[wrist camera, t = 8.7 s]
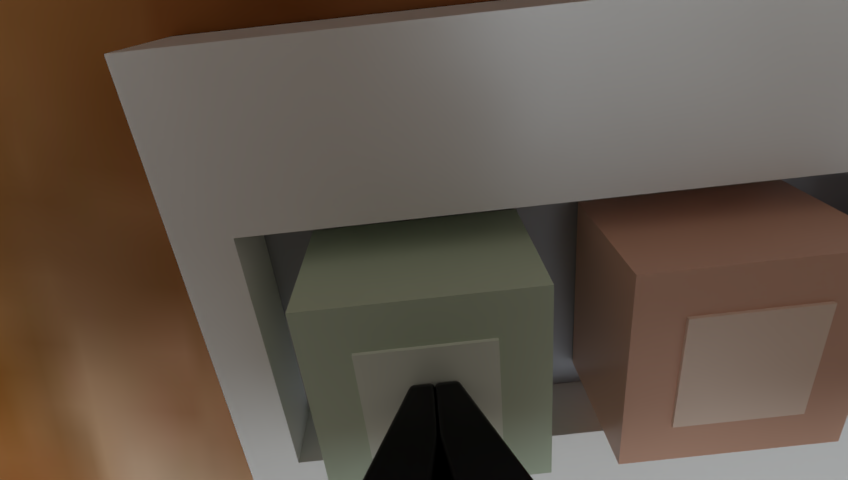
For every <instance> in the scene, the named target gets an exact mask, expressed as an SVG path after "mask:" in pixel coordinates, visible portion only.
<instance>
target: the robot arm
mask: <svg viewBox="0 0 848 480" xmlns="http://www.w3.org/2000/svg"><path fill="white" fill-rule="evenodd" d="M363 480H533V479H532V477H531V476H530V475H529V473H528V472H527V471H526V469H525V468H524V467H523V465H522V464H521V463H520V461H519V460H518V459H517V457H516V456H515V455H514V453H513V452H512V451H511V449H510V448H509V447H508V445H507V444H506V443H505V441H504V440H503V439H502V437H501V436H500V435H499V434H498V432H497V431H496V430H495V428H494V427H493V426H492V424H491V423H490V422H489V420H488V419H487V418H486V416H485V415H484V414H483V412H482V411H481V410H480V408H479V407H478V406H477V404H476V403H475V402H474V400H473V399H472V398H471V396H470V395H469V394H468V392H467V391H466V390H465V388H464V387H463V386H462V384H461V383H460V382H458V381H447V382H439V383H437V384H436V385H435V386H434V385H433V384H431V383H428V384H419V385H412V386H411V387H410V388H409V390H408V391H407V393H406V395H405V397H404V399H403V401H402V403H401V405H400V407H399V409H398V411H397V413H396V415H395V417H394V419H393V421H392V423H391V425H390V427H389V429H388V431H387V433H386V435H385V437H384V439H383V441H382V443H381V445H380V446H379V448H378V450H377V452H376V454H375V456H374V458H373V460H372V462H371V464H370V466H369V468H368V470H367V472H366V474H365V476H364V478H363Z"/></svg>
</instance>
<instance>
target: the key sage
mask: <svg viewBox="0 0 848 480" xmlns="http://www.w3.org/2000/svg"><path fill="white" fill-rule="evenodd" d="M285 315H286V319H287V322H288V326H289V330H290V334H291V338H292V342H293V345H294V349H295V353H296V357H297V361H298V365H299V368H300V372H301V376H302V380H303V384H304V388H305V391H306V395H307V399H308V403H309V407H310V411H311V415H312V418H313V422H314V426H315V430H316V434H317V438H318V441H319V445H320V449H321V453H322V457H323V461H324V464H325V468H326V472H327V476H328V480H363V478H364V476H365V474H366V472H367V470H368V468H369V466H370V464H371V462H372V460H373V458H374V456H375V454H376V452H377V450H378V448H379V446H380V445H381V443H382V441H383V439H384V437H385V435H386V433H387V431H388V429H389V427H390V425H391V423H392V421H393V419H394V417H395V415H396V413H397V411H398V409H399V407H400V405H401V403H402V401H403V399H404V397H405V395H406V393H407V391H408V390H409V388H410V387H411V386H412V385H419V384H428V383H431V384H433V385H434V386H435V385H436V384H437V383H439V382H447V381H458V382H460V383H461V384H462V386H463V387H464V388H465V390H466V391H467V392H468V394H469V395H470V396H471V398H472V399H473V400H474V402H475V403H476V404H477V406H478V407H479V408H480V410H481V411H482V412H483V414H484V415H485V416H486V418H487V419H488V420H489V422H490V423H491V424H492V426H493V427H494V428H495V430H496V431H497V432H498V434H499V435H500V436H501V437H502V439H503V440H504V441H505V443H506V444H507V445H508V447H509V448H510V449H511V451H512V452H513V453H514V455H515V456H516V457H517V459H518V460H519V461H520V463H521V464H522V465H523V467H524V468H525V469H526V471H527V472H528V473H529V475H532V474H542V473H551V472H552V399H553V326H554V284H553V282H552V280H551V278H550V276H549V274H548V272H547V270H546V268H545V266H544V264H543V262H542V260H541V258H540V256H539V254H538V252H537V250H536V248H535V246H534V244H533V242H532V240H531V238H530V236H529V234H528V232H527V230H526V228H525V226H524V224H523V222H522V220H521V218H520V216H519V214H518V212H517V210H516V209H511V210H501V211H492V212H483V213H474V214H464V215H455V216H446V217H437V218H427V219H418V220H409V221H399V222H390V223H381V224H372V225H362V226H353V227H344V228H335V229H325V230H316V231H313V233H312V236H311V239H310V242H309V244H308V247H307V250H306V253H305V256H304V259H303V262H302V265H301V268H300V271H299V274H298V277H297V280H296V283H295V286H294V289H293V292H292V295H291V298H290V301H289V304H288V307H287V310H286V313H285Z"/></svg>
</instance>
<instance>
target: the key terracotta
mask: <svg viewBox="0 0 848 480" xmlns="http://www.w3.org/2000/svg"><path fill="white" fill-rule="evenodd" d="M572 362H573V364H574V367H575V369H576V371H577V373H578V375H579V378H580V380H581V382H582V384H583V387H584V389H585V391H586V393H587V395H588V398H589V400H590V402H591V404H592V406H593V409H594V411H595V413H596V415H597V418H598V420H599V422H600V424H601V426H602V429H603V431H604V433H605V435H606V437H607V440H608V442H609V444H610V446H611V448H612V451H613V453H614V455H615V457H616V460H617V462H618V464H627V463H636V462H646V461H655V460H665V459H674V458H684V457H693V456H703V455H712V454H722V453H731V452H741V451H750V450H760V449H769V448H779V447H788V446H798V445H807V444H817V443H826V442H836V441H839V438H840V435H841V432H842V429H843V427H844V424H845V421H846V418H847V415H848V215H847V214H845V213H843V212H841V211H839V210H837V209H835V208H833V207H831V206H830V205H828V204H826V203H824V202H822V201H820V200H818V199H816V198H814V197H813V196H811V195H809V194H807V193H805V192H803V191H801V190H799V189H797V188H796V187H794V186H792V185H790V184H788V183H786V182H784V181H782V180H776V181H766V182H757V183H748V184H739V185H729V186H720V187H711V188H702V189H692V190H683V191H674V192H664V193H655V194H646V195H637V196H627V197H618V198H609V199H600V200H590V201H581V202H578V215H577V244H576V273H575V302H574V331H573V360H572Z"/></svg>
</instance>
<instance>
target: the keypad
mask: <svg viewBox="0 0 848 480" xmlns="http://www.w3.org/2000/svg"><path fill="white" fill-rule="evenodd" d="M104 56H105V59H106V62H107V65H108V68H109V70H110V73H111V76H112V79H113V82H114V85H115V87H116V90H117V93H118V96H119V99H120V102H121V105H122V107H123V110H124V113H125V116H126V119H127V122H128V124H129V127H130V130H131V133H132V136H133V139H134V141H135V144H136V147H137V150H138V153H139V156H140V158H141V161H142V164H143V167H144V170H145V173H146V176H147V178H148V181H149V184H150V187H151V190H152V193H153V195H154V198H155V201H156V204H157V207H158V210H159V212H160V215H161V218H162V221H163V224H164V227H165V229H166V232H167V235H168V238H169V241H170V244H171V246H172V249H173V252H174V255H175V258H176V261H177V264H178V266H179V269H180V272H181V275H182V278H183V281H184V283H185V286H186V289H187V292H188V295H189V298H190V300H191V303H192V306H193V309H194V312H195V315H196V317H197V320H198V323H199V326H200V329H201V332H202V334H203V337H204V340H205V343H206V346H207V349H208V352H209V354H210V357H211V360H212V363H213V366H214V369H215V371H216V374H217V377H218V380H219V383H220V386H221V388H222V391H223V394H224V397H225V400H226V403H227V405H228V408H229V411H230V414H231V417H232V420H233V423H234V425H235V428H236V431H237V434H238V437H239V440H240V442H241V445H242V448H243V451H244V454H245V457H246V459H247V462H248V465H249V468H250V471H251V474H252V476H253V479H254V480H328V476H327V472H326V468H325V464H324V461H323V457H322V453H321V449H320V445H319V441H318V438H317V434H316V430H315V426H314V422H313V418H312V415H311V411H310V407H309V403H308V399H307V395H306V391H305V388H304V384H303V380H302V376H301V372H300V368H299V365H298V361H297V357H296V353H295V349H294V345H293V342H292V338H291V334H290V330H289V326H288V322H287V319H286V315H285V313H286V310H287V307H288V304H289V301H290V298H291V295H292V292H293V289H294V286H295V283H296V280H297V277H298V274H299V271H300V268H301V265H302V262H303V259H304V256H305V253H306V250H307V247H308V244H309V242H310V239H311V236H312V233H313V231H316V230H325V229H335V228H344V227H353V226H362V225H372V224H381V223H390V222H399V221H409V220H418V219H427V218H437V217H446V216H455V215H464V214H474V213H483V212H492V211H501V210H511V209H516V210H517V212H518V214H519V216H520V218H521V220H522V222H523V224H524V226H525V228H526V230H527V232H528V234H529V236H530V238H531V240H532V242H533V244H534V246H535V248H536V250H537V252H538V254H539V256H540V258H541V260H542V262H543V264H544V266H545V268H546V270H547V272H548V274H549V276H550V278H551V280H552V282H553V284H554V326H553V399H552V472H551V473H542V474H532V475H530V476H531V477H532V479H533V480H848V415H847V418H846V421H845V424H844V427H843V429H842V432H841V435H840V438H839V441H836V442H826V443H817V444H807V445H798V446H788V447H779V448H769V449H760V450H750V451H741V452H731V453H722V454H712V455H703V456H693V457H684V458H674V459H665V460H655V461H646V462H636V463H627V464H618V462H617V460H616V457H615V455H614V453H613V451H612V448H611V446H610V444H609V442H608V440H607V437H606V435H605V433H604V431H603V429H602V426H601V424H600V422H599V420H598V418H597V415H596V413H595V411H594V409H593V406H592V404H591V402H590V400H589V398H588V395H587V393H586V391H585V389H584V387H583V384H582V382H581V380H580V378H579V375H578V373H577V371H576V369H575V367H574V364H573V362H572V360H573V331H574V302H575V273H576V244H577V215H578V202H581V201H590V200H600V199H609V198H618V197H627V196H637V195H646V194H655V193H664V192H674V191H683V190H692V189H702V188H711V187H720V186H729V185H739V184H748V183H757V182H766V181H776V180H782V181H784V182H786V183H788V184H790V185H792V186H794V187H796V188H797V189H799V190H801V191H803V192H805V193H807V194H809V195H811V196H813V197H814V198H816V199H818V200H820V201H822V202H824V203H826V204H828V205H830V206H831V207H833V208H835V209H837V210H839V211H841V212H843V213H845V214H847V215H848V0H497V1H488V2H479V3H470V4H461V5H452V6H443V7H434V8H424V9H415V10H406V11H397V12H388V13H379V14H370V15H361V16H352V17H343V18H334V19H325V20H315V21H306V22H297V23H288V24H279V25H270V26H261V27H252V28H243V29H234V30H225V31H215V32H206V33H197V34H188V35H179V36H171V37H167V38H163V39H159V40H155V41H151V42H148V43H144V44H140V45H136V46H132V47H128V48H124V49H121V50H117V51H113V52H109V53H105V54H104Z"/></svg>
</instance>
